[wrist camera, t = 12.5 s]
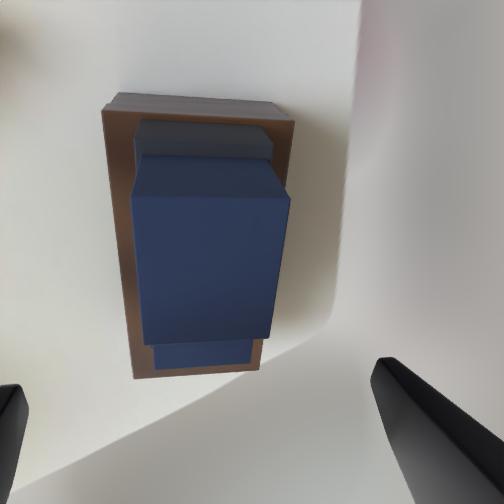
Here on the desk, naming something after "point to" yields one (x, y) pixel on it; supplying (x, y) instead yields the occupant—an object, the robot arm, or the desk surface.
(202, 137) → the stepped navy block
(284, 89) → the desk surface
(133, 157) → the shelf
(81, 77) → the desk surface
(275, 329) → the desk surface
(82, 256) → the desk surface
